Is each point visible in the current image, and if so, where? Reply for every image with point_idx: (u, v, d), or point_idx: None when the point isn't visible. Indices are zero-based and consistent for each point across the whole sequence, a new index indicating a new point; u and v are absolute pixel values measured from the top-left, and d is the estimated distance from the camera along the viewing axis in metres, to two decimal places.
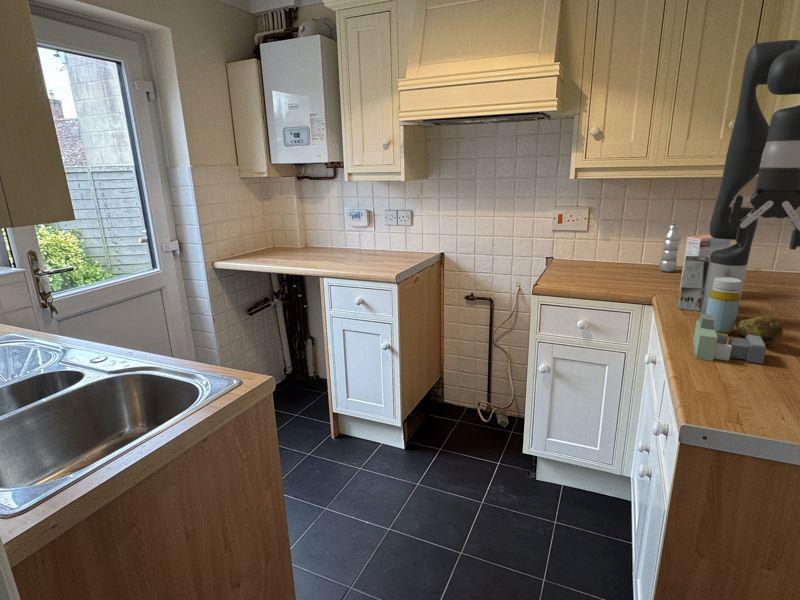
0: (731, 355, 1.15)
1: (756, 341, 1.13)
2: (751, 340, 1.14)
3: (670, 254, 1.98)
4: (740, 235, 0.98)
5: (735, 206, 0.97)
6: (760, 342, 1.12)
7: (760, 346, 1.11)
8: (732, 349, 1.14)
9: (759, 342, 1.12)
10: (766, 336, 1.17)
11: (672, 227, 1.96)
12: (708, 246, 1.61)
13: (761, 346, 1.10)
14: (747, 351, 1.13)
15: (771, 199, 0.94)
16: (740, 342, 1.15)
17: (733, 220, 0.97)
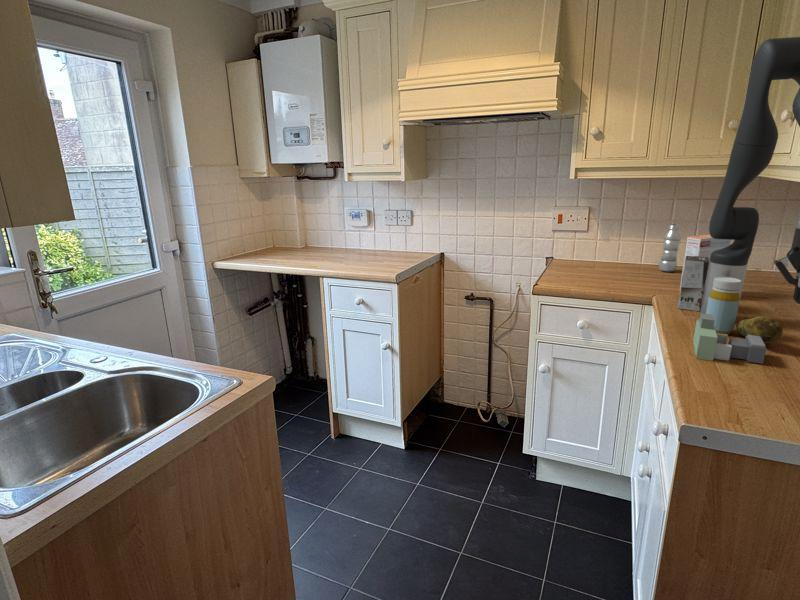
0: (731, 355, 1.15)
1: (756, 341, 1.13)
2: (751, 340, 1.14)
3: (670, 254, 1.98)
4: (798, 293, 1.07)
5: (782, 270, 1.07)
6: (760, 342, 1.12)
7: (760, 346, 1.11)
8: (732, 349, 1.14)
9: (759, 342, 1.12)
10: (766, 336, 1.18)
11: (672, 227, 1.96)
12: (708, 246, 1.60)
13: (761, 346, 1.10)
14: (747, 351, 1.13)
15: None
16: (740, 342, 1.15)
17: (791, 280, 1.06)
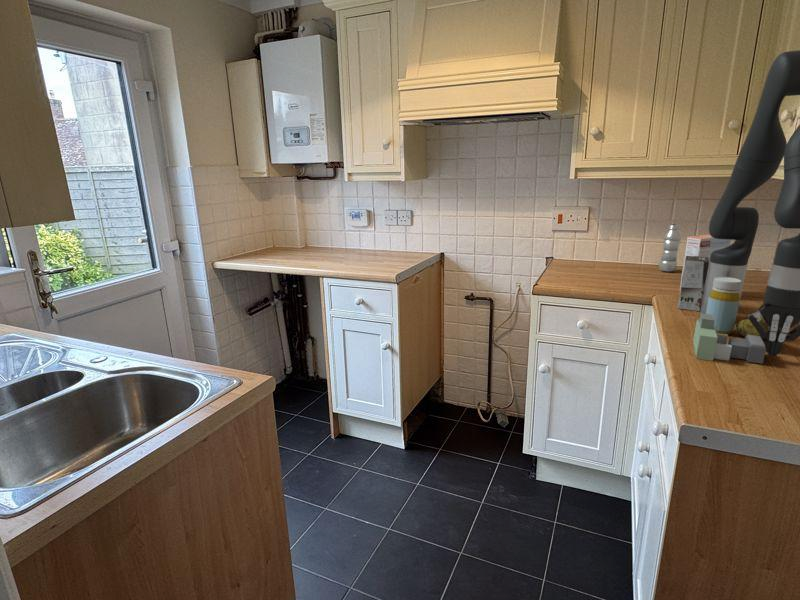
0: (731, 355, 1.15)
1: (756, 341, 1.13)
2: (751, 340, 1.14)
3: (670, 254, 1.98)
4: (769, 346, 1.12)
5: (754, 324, 1.12)
6: (760, 342, 1.12)
7: (760, 346, 1.11)
8: (732, 349, 1.14)
9: (759, 342, 1.12)
10: None
11: (672, 227, 1.96)
12: (708, 246, 1.60)
13: (761, 346, 1.10)
14: (747, 351, 1.13)
15: (774, 312, 1.10)
16: (740, 342, 1.15)
17: (763, 334, 1.12)
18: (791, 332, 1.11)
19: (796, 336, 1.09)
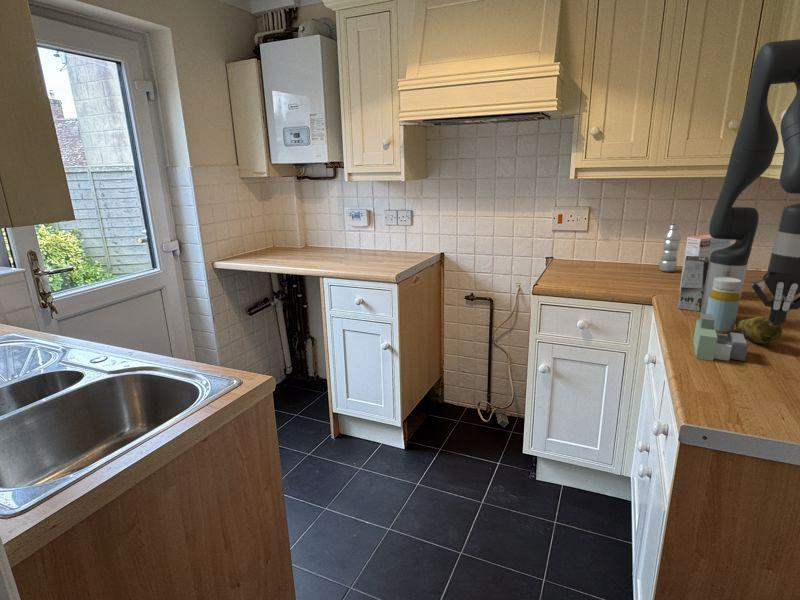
0: None
1: (738, 339, 1.14)
2: (733, 338, 1.15)
3: (670, 254, 1.98)
4: (773, 315, 1.11)
5: (758, 293, 1.10)
6: (742, 339, 1.14)
7: (742, 343, 1.12)
8: None
9: (741, 340, 1.14)
10: (765, 336, 1.18)
11: (672, 227, 1.96)
12: (708, 246, 1.61)
13: (743, 343, 1.12)
14: None
15: (778, 280, 1.08)
16: (723, 340, 1.17)
17: (767, 303, 1.10)
18: (796, 301, 1.09)
19: None
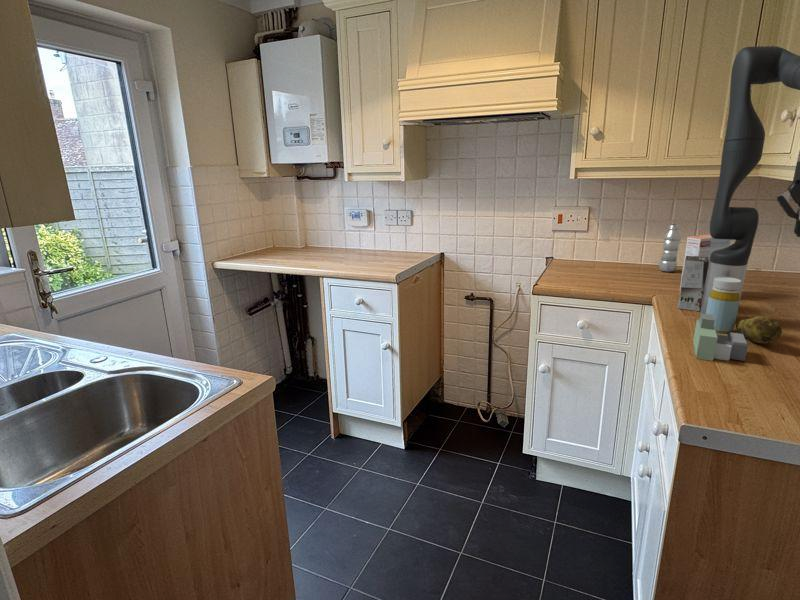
0: None
1: (738, 339, 1.14)
2: (733, 338, 1.15)
3: (670, 254, 1.98)
4: (799, 227, 1.09)
5: (783, 204, 1.09)
6: (742, 339, 1.14)
7: (742, 343, 1.12)
8: None
9: (741, 340, 1.14)
10: (765, 335, 1.18)
11: (672, 227, 1.96)
12: (708, 246, 1.60)
13: (743, 343, 1.12)
14: None
15: None
16: (723, 340, 1.17)
17: (792, 214, 1.09)
18: None
19: None
